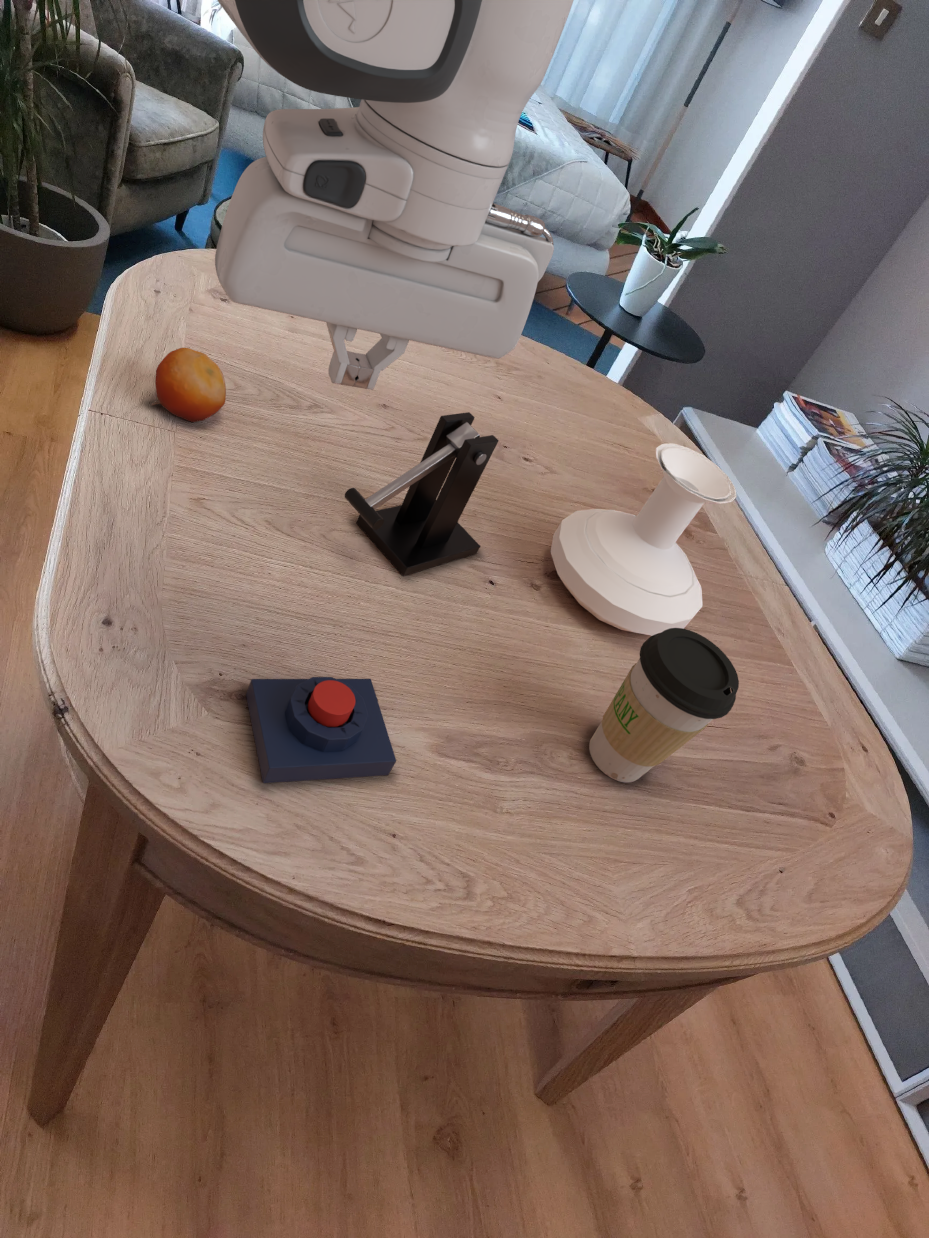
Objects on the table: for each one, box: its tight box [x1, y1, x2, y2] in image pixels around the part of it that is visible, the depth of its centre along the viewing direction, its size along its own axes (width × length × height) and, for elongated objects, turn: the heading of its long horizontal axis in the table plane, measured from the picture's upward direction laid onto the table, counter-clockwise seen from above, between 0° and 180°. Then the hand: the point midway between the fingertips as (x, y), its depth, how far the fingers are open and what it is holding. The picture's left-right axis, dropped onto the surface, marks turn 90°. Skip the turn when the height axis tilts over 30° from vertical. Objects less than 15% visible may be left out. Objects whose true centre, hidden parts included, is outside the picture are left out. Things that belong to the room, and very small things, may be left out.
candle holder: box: [550, 442, 737, 637], centre depth 100 cm, size 20×20×19 cm
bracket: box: [355, 411, 499, 577], centre depth 93 cm, size 12×9×16 cm
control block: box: [245, 676, 397, 784], centre depth 71 cm, size 11×9×4 cm
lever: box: [344, 422, 481, 530], centre depth 87 cm, size 15×5×2 cm
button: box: [308, 680, 355, 727], centre depth 70 cm, size 4×4×2 cm
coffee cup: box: [588, 628, 740, 783], centre depth 81 cm, size 10×10×15 cm
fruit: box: [150, 347, 227, 423], centre depth 95 cm, size 8×8×8 cm
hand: (349, 382), depth 58 cm, fingers closed
